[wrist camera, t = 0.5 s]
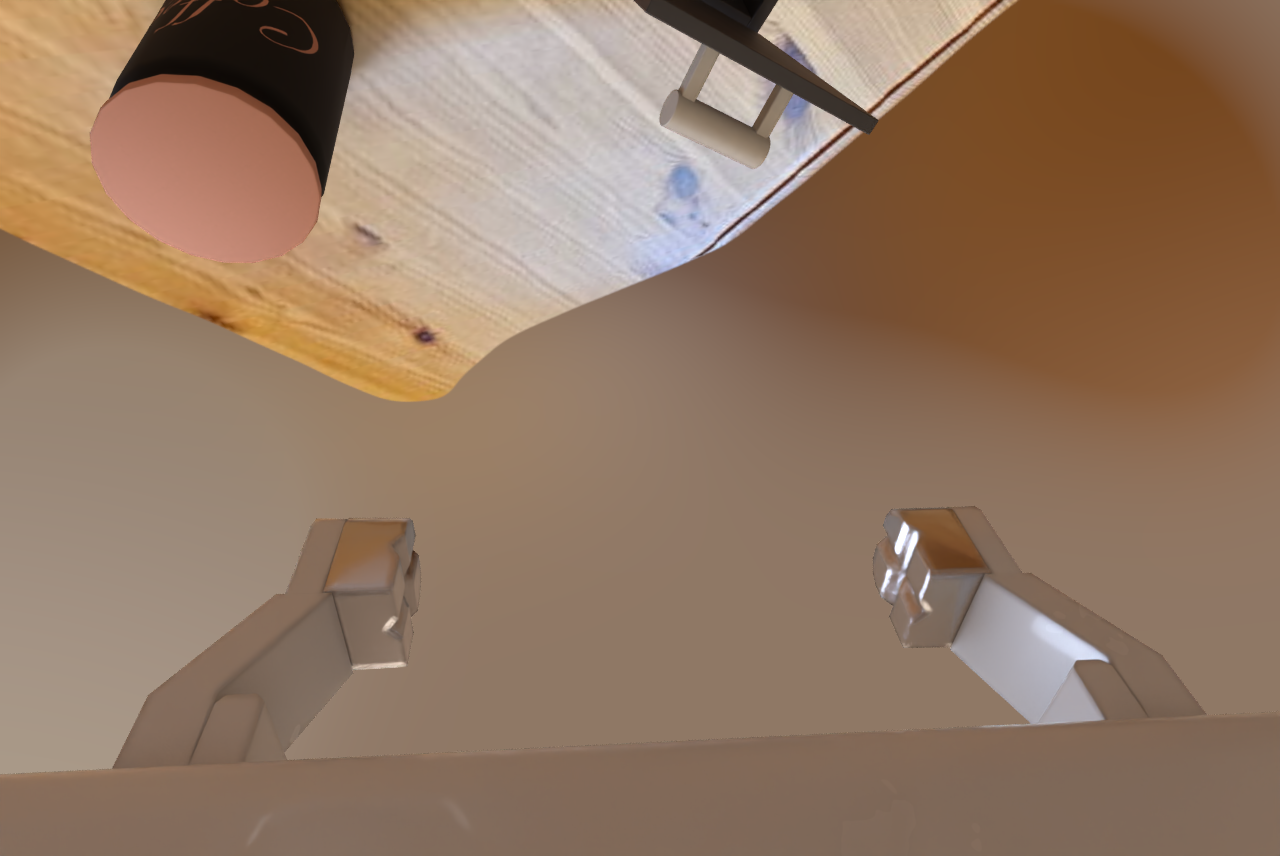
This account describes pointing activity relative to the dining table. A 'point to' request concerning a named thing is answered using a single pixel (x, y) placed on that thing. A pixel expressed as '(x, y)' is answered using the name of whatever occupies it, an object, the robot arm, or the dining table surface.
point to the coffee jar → (227, 124)
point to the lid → (723, 35)
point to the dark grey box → (745, 10)
